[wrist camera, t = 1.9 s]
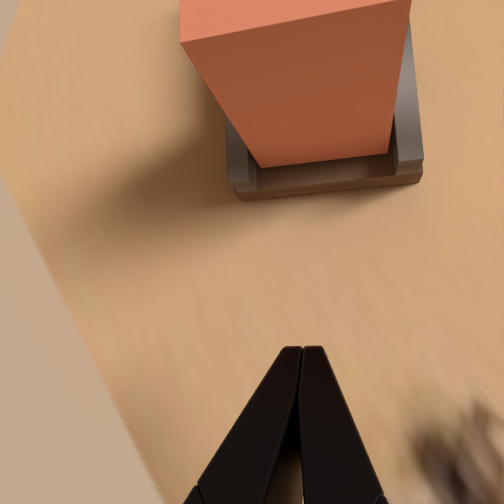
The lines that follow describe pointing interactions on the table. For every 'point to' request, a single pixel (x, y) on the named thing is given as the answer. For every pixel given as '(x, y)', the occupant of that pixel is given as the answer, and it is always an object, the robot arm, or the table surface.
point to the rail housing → (339, 170)
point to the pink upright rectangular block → (301, 72)
